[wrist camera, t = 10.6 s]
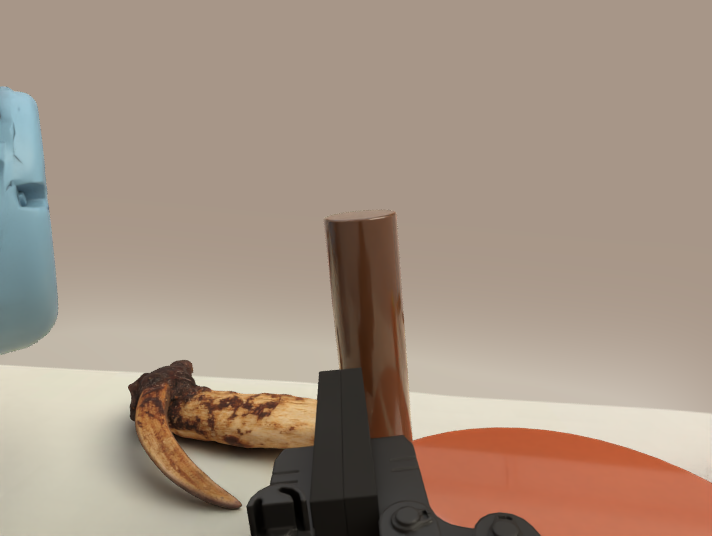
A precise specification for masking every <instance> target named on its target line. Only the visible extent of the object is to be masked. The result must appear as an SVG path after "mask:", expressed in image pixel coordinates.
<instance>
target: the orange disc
mask: <svg viewBox="0 0 712 536" xmlns="http://www.w3.org/2000/svg"><path fill="white" fill-rule="evenodd" d="M324 228H325V238H326V247H327V257H328V266H329V275H330V284H331V294H332V304H333V312H334V322H335V332H336V342H337V351H338V360H339V370H340V369H350V368H360V367H362V375H363V383H364V391H365V399H366V407H367V415H368V423H369V431H370V438H380V437H389V436H399V435H404V436H405V437H406V438H407V439H408V440H409V441H410V442H411V443H412V444H413V446H414V449H415V453H416V458H417V461H418V464H419V468H420V472H421V475H422V479H423V483H424V486H425V490H426V494H427V497H428V501H429V505H430V507H431V509H432V510H433V511H434V513H435V514H436V515H437V516H438V517H439V518H441V519H442V520H443V521H446V522H448V523H450V524H453V525H457V526H461V527H468V528H474V527H475V524H476V523H477V522H478V520H479V519H480V518H482V517H484V516H486V515H487V514H491V513H498V512H503V513H510V514H514V515H516V516H518V517H521V518H523V519H525V520H526V521H527V522H528V523H529V524H531V525H532V526H533V527H534V528H535V529H536V530H537V532H538V533H539V534H540V535H541V536H712V483H711V482H709V481H707V480H705V479H703V478H701V477H699V476H697V475H695V474H693V473H691V472H689V471H687V470H684V469H682V468H679V467H677V466H675V465H672V464H670V463H667V462H665V461H663V460H660V459H658V458H655V457H652V456H649V455H647V454H644V453H641V452H638V451H635V450H632V449H629V448H626V447H623V446H619V445H616V444H612V443H609V442H605V441H602V440H598V439H593V438H588V437H584V436H579V435H574V434H569V433H562V432H556V431H549V430H540V429H528V428H478V429H466V430H459V431H451V432H445V433H441V434H436V435H432V436H427V437H423V438H420V439H417V440H414V441H412V427H411V413H410V398H409V384H408V370H407V356H406V343H405V328H404V314H403V299H402V286H401V272H400V257H399V243H398V231H397V215H396V212H394V211H391V210H363V211H352V212H346V213H339V214H334V215H330V216H327V217H325V218H324Z"/></svg>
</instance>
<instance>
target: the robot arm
mask: <svg viewBox="0 0 712 536" xmlns="http://www.w3.org/2000/svg"><path fill="white" fill-rule="evenodd" d="M57 315H58V296H57V283H56V271H55V261H54V252H53V241H52V231H51V223H50V215H49V206H48V201H47V187H46V178H45V165H44V155H43V145H42V137H41V129H40V121H39V114H38V107H37V104H36V102H35V100H34V99H33V98H32V97H31V96H30V95H28V94H26V93H23V92H14V91H13V90H11V89H10V88H8V87H0V355H2V354H6V353H9V352H13V351H16V350H20V349H24V348H26V347H29V346H31V345H33V344H35V343H36V342H38V340H40V339H42V338H43V337H44V336H46V335H47V334H48V333H49V332H50V330H51V328H52V327H53V325H54V324H55V321H56V319H57ZM272 474H273V475H272V477H271V482H270V486H267V487H266V488H264V489H262V490H260V491H258V492H257V493H256V494H255V495H254V496H253V497H251V499H250V501H249V502H248V504H247V506H246V507H247V513H248V519H249V525H250V531H251V536H541V535H540V534H539V533H538V532H537V530H536V529H535V528H534V527H533V526H532V525H531V524H529V523H528V522H527V521H526V520H525V519H523V518H521V517H518V516H516V515H514V514H510V513H503V512H498V513H491V514H487V515H486V516H484V517H482V518H480V519H479V520H478V522H477V523H476V524H475V527H474V528H468V527H461V526H457V525H453V524H450V523H448V522H446V521H443V520H442V519H441V518H439V517H438V516H437V515H436V514H435V513H434V511H433V510H432V509H431V507H430V505H429V501H428V497H427V494H426V490H425V486H424V483H423V479H422V475H421V472H420V468H419V464H418V461H417V458H416V453H415V449H414V446H413V444H412V443H411V442H410V441H409V440H408V439H407V438H406V437H405V436H404V435H399V436H389V437H380V438H370V431H369V423H368V415H367V407H366V399H365V391H364V383H363V375H362V367H360V368H350V369H340V370H332V371H321V372H319V382H318V395H317V408H316V422H315V435H314V446H306V447H296V448H287V449H284V450H283V451H282V452H281V453H280V455H279V456H278V457H277V458H276V460H275V462H274V467H273V472H272Z"/></svg>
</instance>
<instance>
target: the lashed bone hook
mask: <svg viewBox="0 0 712 536" xmlns="http://www.w3.org/2000/svg"><path fill="white" fill-rule="evenodd" d="M192 373H193V367H192V363H191V362H189V361H188V360H180V361H175V362H173V363H172V364H171V365H170V366H165V367H162V368H159V369H157V370H155V371H153V372H151V373H144V374H143V375H141V376H140V378H139V379H138V380H136V381H135V382H134V383H132V384H130V385H129V386H128V389H129V391H130V393H131V404H130V412H131V413H130V418H131V420H133V421H135V427H136V432H137V435H138V438H139V441H140V443H141V445H142V447H143V448H144V450H145V451H146V453H147V454H148V456H149V457H150V459H151V460H152V461H153V462H154V464H155V465H156V466H157V467H158V468H159V470H160V471H161V472H162V473H163V474H164V475H165V476H166V477H167V478H169V479H170V480H171V481H172V482H173V483H175V484H176V485H177V486H179V487H180V488H182V489H183V490H185V491H186V492H188V493H190V494H191V495H193V496H195V497H197V498H199V499H201V500H203V501H205V502H208V503H211V504H214V505H217V506H221V507H225V508H231V509H235V508H239V507H241V506H242V504H241V502H240V501H238V500H237V499H236V498H235V497H234V496H232V495H231V494H229V493H228V492H227V491H225V490H224V489H223V488H221V487H220V486H219V485H217V484H216V483H215V482H214V481H213V480H211V479H210V478H209V477H208V476H207V475H206V474H205V473H204V472H203V471H202V470H201V469H199V468H198V467H197V466H196V465H195V464H194V463H193V462H192V460H191V459H190V458H189V457H188V456H187V454H186V453H185V452H184V450H183V449H182V447H181V446H180V445H179V444H178V442H177V440H176V439H175V437H174V436H173V434H172V433H174V434H176V435H179V436H180V437H184V438H192V439H196V440H203V441H216V442H218V443H223V444H228V445H232V446H238V447H244V448H261V447H264V448H278V449H280V448H284V449H287V448H296V447H306V446H314V435H315V422H316V408H317V400H315V399H310V398H301V397H295V396H292V395H287V394H269V393H262V394H240V393H236V392H232V391H213V390H211V389H210V388H207V387H205V386H204V387H200V386H197V385H196V384H195V380H194V379H193V378H192Z"/></svg>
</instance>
